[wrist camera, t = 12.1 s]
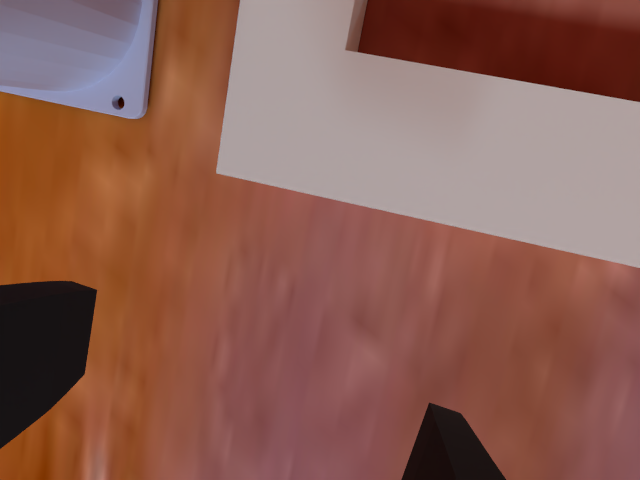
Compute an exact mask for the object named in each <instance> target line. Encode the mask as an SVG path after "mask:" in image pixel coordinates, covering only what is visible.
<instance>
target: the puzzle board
mask: <svg viewBox="0 0 640 480" xmlns="http://www.w3.org/2000/svg"><path fill="white" fill-rule="evenodd" d="M367 1H368V0H240V5H239V12H238V20H237V27H236V34H235V41H234V48H233V56H232V63H231V70H230V77H229V84H228V92H227V99H226V106H225V113H224V120H223V128H222V135H221V142H220V149H219V156H218V163H217V171H216V173H218V174H222V175H227V176H231V177H235V178H240V179H244V180H249V181H253V182H258V183H262V184H267V185H271V186H276V187H280V188H285V189H289V190H294V191H298V192H303V193H307V194H312V195H316V196H321V197H325V198H330V199H334V200H338V201H343V202H347V203H352V204H356V205H361V206H365V207H370V208H374V209H379V210H383V211H388V212H392V213H397V214H401V215H406V216H410V217H415V218H419V219H424V220H428V221H433V222H437V223H441V224H446V225H450V226H455V227H459V228H464V229H468V230H473V231H477V232H482V233H486V234H491V235H495V236H500V237H504V238H509V239H513V240H518V241H522V242H527V243H531V244H536V245H540V246H544V247H549V248H553V249H558V250H562V251H567V252H571V253H576V254H580V255H585V256H589V257H594V258H598V259H603V260H607V261H612V262H616V263H621V264H625V265H630V266H634V267H639V268H640V102H636V101H630V100H624V99H619V98H613V97H607V96H602V95H596V94H590V93H585V92H579V91H573V90H568V89H562V88H557V87H551V86H545V85H540V84H534V83H528V82H523V81H517V80H511V79H506V78H500V77H494V76H489V75H483V74H477V73H472V72H466V71H460V70H455V69H449V68H444V67H438V66H432V65H427V64H421V63H415V62H410V61H404V60H398V59H393V58H387V57H381V56H376V55H370V54H364V53H359V52H358V47H359V42H360V37H361V32H362V27H363V21H364V16H365V11H366V6H367Z"/></svg>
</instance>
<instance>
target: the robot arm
mask: <svg viewBox="0 0 640 480" xmlns="http://www.w3.org/2000/svg"><path fill="white" fill-rule="evenodd" d="M157 6H158V0H0V91H2V92H6V93H11V94H16V95H21V96H25V97H30V98H35V99H40V100H44V101H49V102H54V103H58V104H63V105H68V106H73V107H77V108H82V109H87V110H91V111H96V112H101V113H106V114H110V115H115V116H120V117H125V118H129V119H139V118H141V117H143V116H144V115H145V113H146V110H147V105H148V95H149V85H150V75H151V65H152V55H153V45H154V35H155V26H156V16H157ZM120 97H122V98H123V99H124V103H125V104H124V107H123V108H122V109H120V107H119V106H118V100H119V98H120ZM96 294H97V290H96V289H93V288H90V287H87V286H84V285H81V284H78V283H75V282H72V281H47V282H32V283H21V284H10V285H0V449H1V448H2V447H3V446H4V445H6V444H7V443H8V442H10V441H11V440H12V439H14V438H15V437H16V436H17V435H19V434H20V433H21V432H22V431H24V430H25V429H26V428H27V427H29V426H30V425H31V424H33V423H34V422H35V421H36V420H38V419H39V418H40V417H41V416H43V415H44V414H45V413H46V412H47V411H49V410H50V409H51V408H52V407H53V406H54V405H55V404H56V403H57V402H58V401H59V400H60V399H61V398H62V397H63V396H64V395H65V394H66V393H67V392H68V391H69V390H70V389H71V388H72V387H73V386H74V385H75V384H76V383H77V382H78V380H79V379H80V378H81V377H82V376H83V375H84V374H85V368H86V361H87V354H88V348H89V341H90V334H91V327H92V321H93V314H94V307H95V301H96ZM402 480H506V479H505V477H504V476H503V475H502V473H501V472H500V470H499V469H498V467H497V466H496V464H495V463H494V462H493V460H492V459H491V457H490V456H489V454H488V453H487V451H486V450H485V448H484V447H483V445H482V444H481V442H480V441H479V439H478V438H477V436H476V435H475V433H474V432H473V430H472V429H471V427H470V426H469V424H468V423H467V421H466V420H465V418H464V417H463V416H462V414H461V413H458V412H455V411H452V410H450V409H447V408H444V407H441V406H438V405H435V404H432V403H429V405H428V407H427V410H426V413H425V416H424V419H423V421H422V424H421V427H420V430H419V433H418V435H417V438H416V441H415V444H414V446H413V449H412V452H411V455H410V458H409V460H408V463H407V466H406V469H405V472H404V474H403V477H402Z"/></svg>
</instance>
